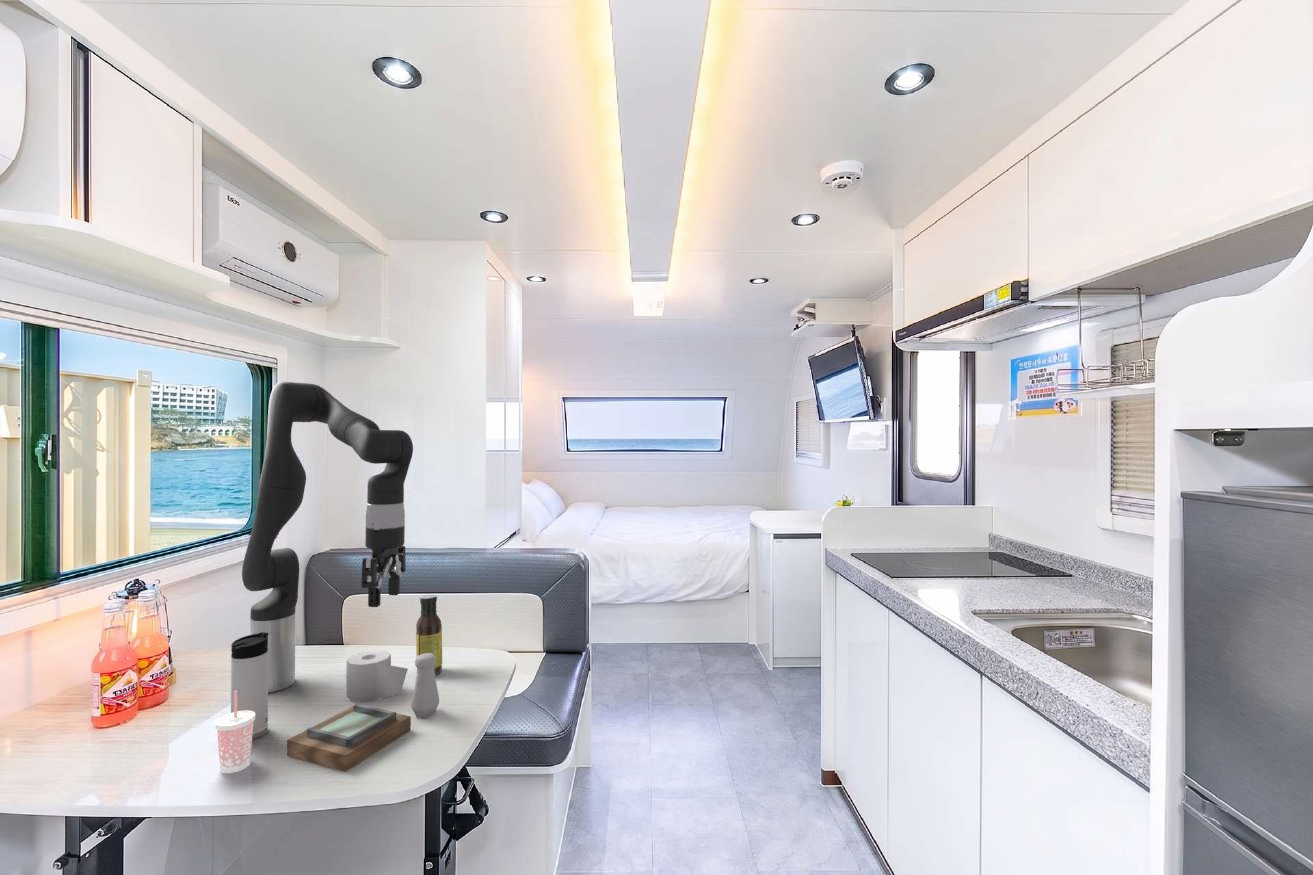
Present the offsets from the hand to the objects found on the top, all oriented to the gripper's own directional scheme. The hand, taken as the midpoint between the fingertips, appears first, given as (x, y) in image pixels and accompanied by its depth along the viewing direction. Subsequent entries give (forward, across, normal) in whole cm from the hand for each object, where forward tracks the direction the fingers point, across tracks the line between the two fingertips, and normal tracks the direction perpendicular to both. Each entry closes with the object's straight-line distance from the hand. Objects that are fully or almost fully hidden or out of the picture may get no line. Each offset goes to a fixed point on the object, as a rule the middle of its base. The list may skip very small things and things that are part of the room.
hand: (384, 600), depth 124 cm
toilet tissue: (+27, -15, -10) cm, 33 cm away
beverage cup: (+27, +16, -20) cm, 37 cm away
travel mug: (+27, +5, -25) cm, 37 cm away
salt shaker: (+27, -5, +7) cm, 28 cm away
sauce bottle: (+27, -27, -2) cm, 38 cm away
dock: (+26, +7, -3) cm, 28 cm away
